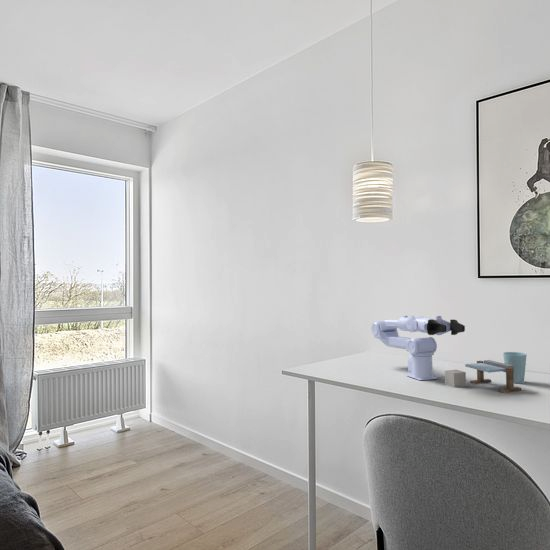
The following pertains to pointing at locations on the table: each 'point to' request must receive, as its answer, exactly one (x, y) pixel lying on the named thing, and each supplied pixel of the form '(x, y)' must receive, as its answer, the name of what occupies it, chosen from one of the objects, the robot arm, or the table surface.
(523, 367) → the cup
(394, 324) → the robot arm
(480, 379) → the stand
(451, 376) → the stone
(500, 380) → the table surface
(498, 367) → the trapdoor
